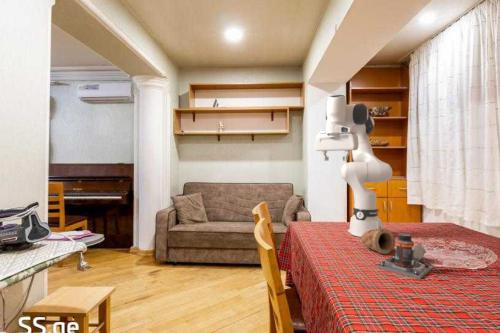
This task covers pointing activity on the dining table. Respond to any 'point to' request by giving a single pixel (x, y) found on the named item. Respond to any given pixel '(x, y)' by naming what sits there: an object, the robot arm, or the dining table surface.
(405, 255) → the supplement bottle
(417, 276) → the flange seat
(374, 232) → the clay pipe
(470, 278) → the dining table surface
